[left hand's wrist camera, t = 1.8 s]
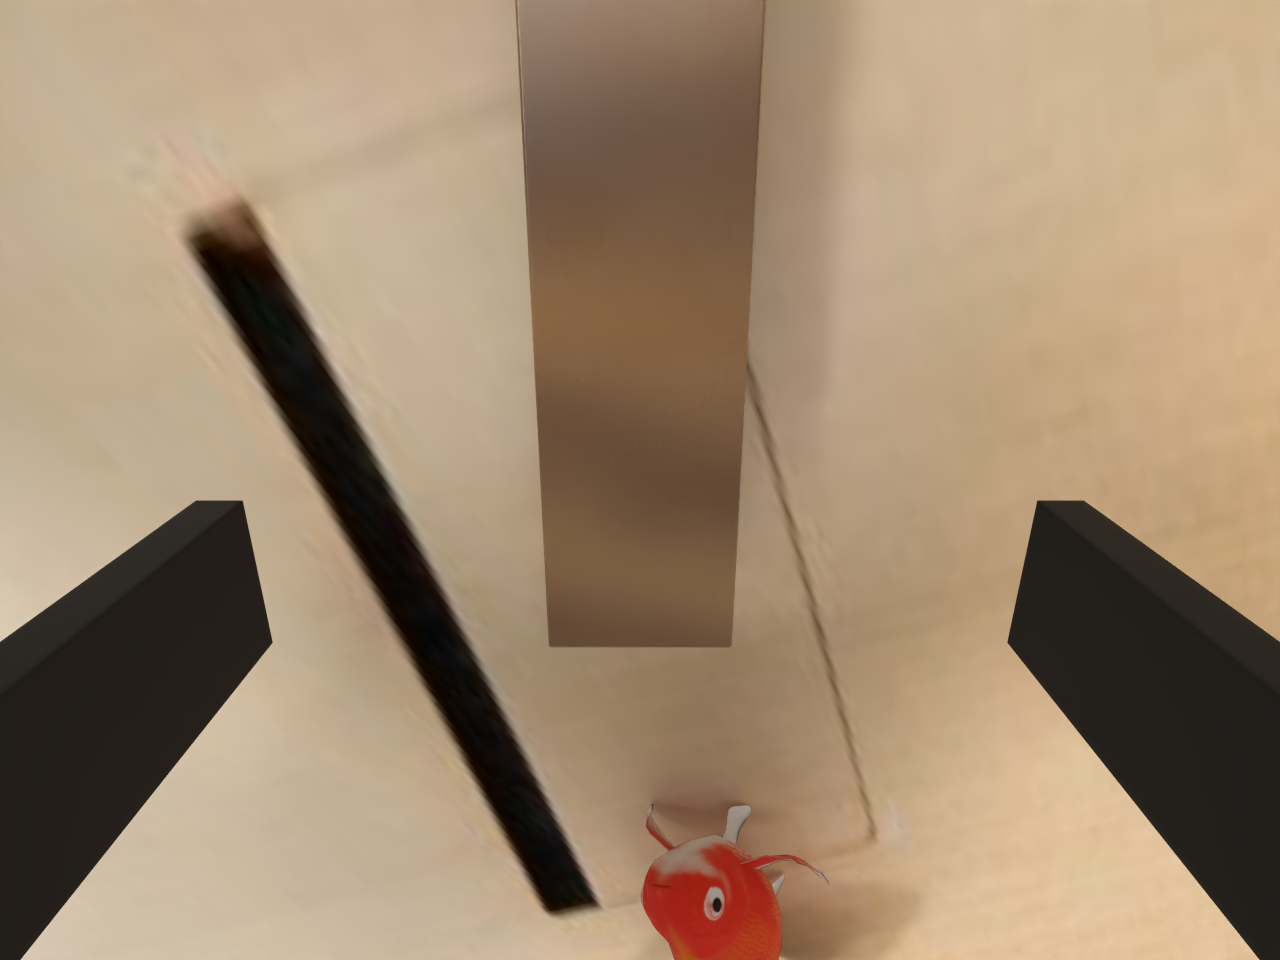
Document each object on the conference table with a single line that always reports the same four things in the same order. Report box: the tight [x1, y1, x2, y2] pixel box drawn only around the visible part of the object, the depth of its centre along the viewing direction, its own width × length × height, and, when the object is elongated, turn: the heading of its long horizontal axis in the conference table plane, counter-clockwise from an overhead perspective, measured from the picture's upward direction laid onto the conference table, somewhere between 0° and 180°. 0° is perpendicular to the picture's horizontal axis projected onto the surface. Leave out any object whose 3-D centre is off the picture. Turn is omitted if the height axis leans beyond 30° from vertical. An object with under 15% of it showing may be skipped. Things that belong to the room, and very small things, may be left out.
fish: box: [641, 804, 829, 960], centre depth 30 cm, size 11×16×10 cm
